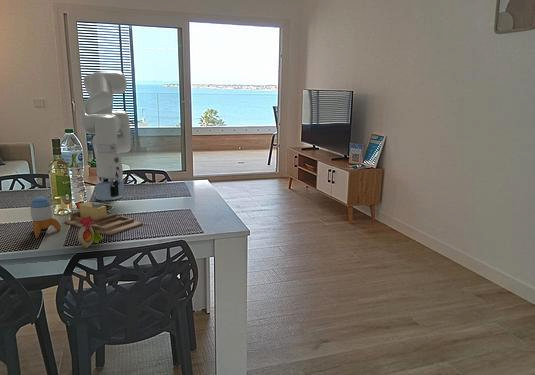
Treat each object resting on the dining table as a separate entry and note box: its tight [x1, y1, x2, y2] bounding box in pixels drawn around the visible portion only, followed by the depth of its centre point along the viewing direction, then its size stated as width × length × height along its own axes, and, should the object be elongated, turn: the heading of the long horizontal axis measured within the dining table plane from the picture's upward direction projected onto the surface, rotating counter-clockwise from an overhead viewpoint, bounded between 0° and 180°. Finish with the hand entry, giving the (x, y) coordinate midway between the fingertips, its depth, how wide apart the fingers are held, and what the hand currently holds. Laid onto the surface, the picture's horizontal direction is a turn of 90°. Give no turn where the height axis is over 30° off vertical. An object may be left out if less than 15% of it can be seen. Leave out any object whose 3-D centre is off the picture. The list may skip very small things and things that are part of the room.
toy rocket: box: [29, 196, 62, 239], centre depth 159 cm, size 10×11×15 cm
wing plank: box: [94, 179, 126, 202], centre depth 164 cm, size 4×10×6 cm, turn 148°
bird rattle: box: [77, 216, 104, 249], centre depth 146 cm, size 6×11×9 cm
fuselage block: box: [78, 201, 108, 220], centre depth 173 cm, size 12×4×7 cm, turn 58°
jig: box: [63, 210, 144, 237], centre depth 171 cm, size 28×16×3 cm, turn 58°
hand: (110, 194), depth 165 cm, fingers closed on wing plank, 4 cm apart
